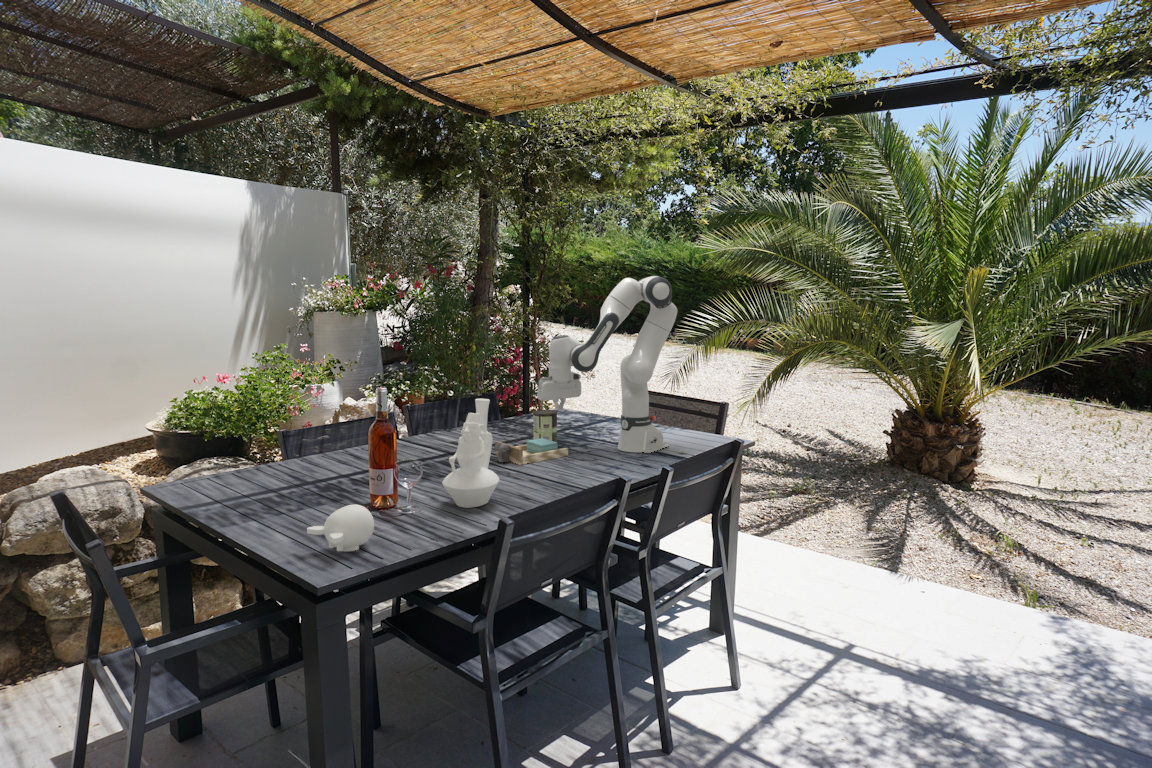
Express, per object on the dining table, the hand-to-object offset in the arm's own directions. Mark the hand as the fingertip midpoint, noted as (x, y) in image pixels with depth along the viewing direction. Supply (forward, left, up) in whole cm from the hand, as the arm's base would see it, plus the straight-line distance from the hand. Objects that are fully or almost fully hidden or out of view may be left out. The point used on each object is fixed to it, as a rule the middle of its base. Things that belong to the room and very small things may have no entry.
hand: (559, 409), depth 291 cm
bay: (+16, 0, -17) cm, 24 cm away
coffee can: (-3, -14, -18) cm, 23 cm away
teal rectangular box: (+9, 0, -16) cm, 18 cm away
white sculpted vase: (+62, +36, -18) cm, 74 cm away
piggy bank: (+110, +49, -18) cm, 122 cm away
